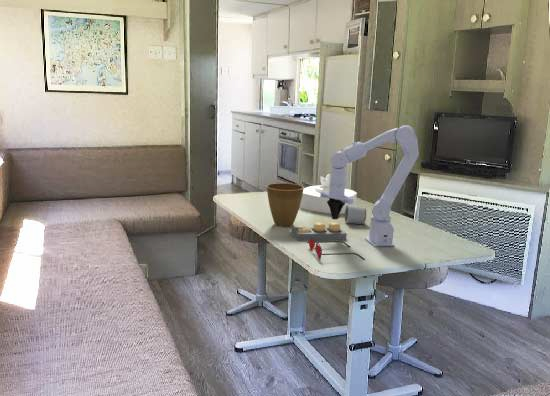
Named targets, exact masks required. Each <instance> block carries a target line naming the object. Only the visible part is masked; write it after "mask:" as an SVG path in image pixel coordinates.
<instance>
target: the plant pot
mask: <svg viewBox="0 0 550 396" xmlns="http://www.w3.org/2000/svg"><path fill="white" fill-rule="evenodd" d="M304 188H305V186H303V185H301V184H297V183H291V182H290V183H286V182H277V183H276V182H275V183H270V184H267V185H266V192H267V198H268V204H269V210H270V213H271V216H272V221H273V222H274V225H276V226H277V227H280V226H282V228H290V227H293V225H294V223H295V221H296V218H297V215H298V213H299V210H300V203H301V199H302V195H303V189H304Z"/></svg>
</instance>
